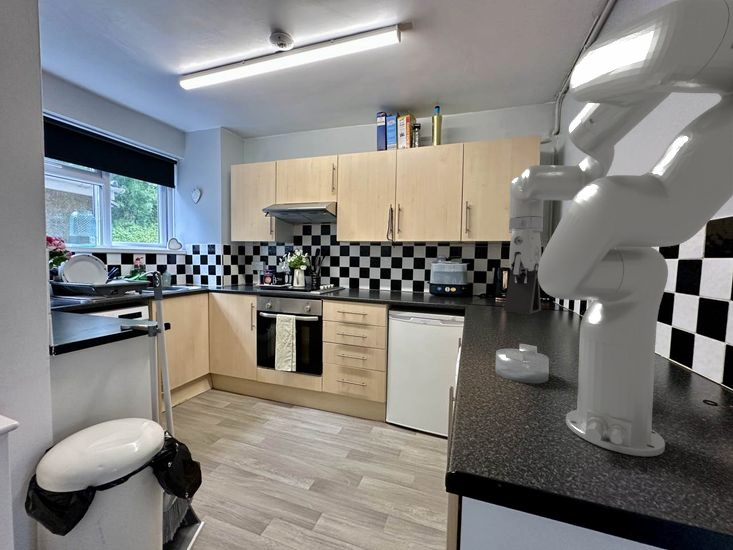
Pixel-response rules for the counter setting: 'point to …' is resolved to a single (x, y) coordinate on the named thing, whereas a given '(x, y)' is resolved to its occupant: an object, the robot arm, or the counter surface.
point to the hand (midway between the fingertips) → (523, 298)
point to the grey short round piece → (522, 364)
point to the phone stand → (523, 294)
